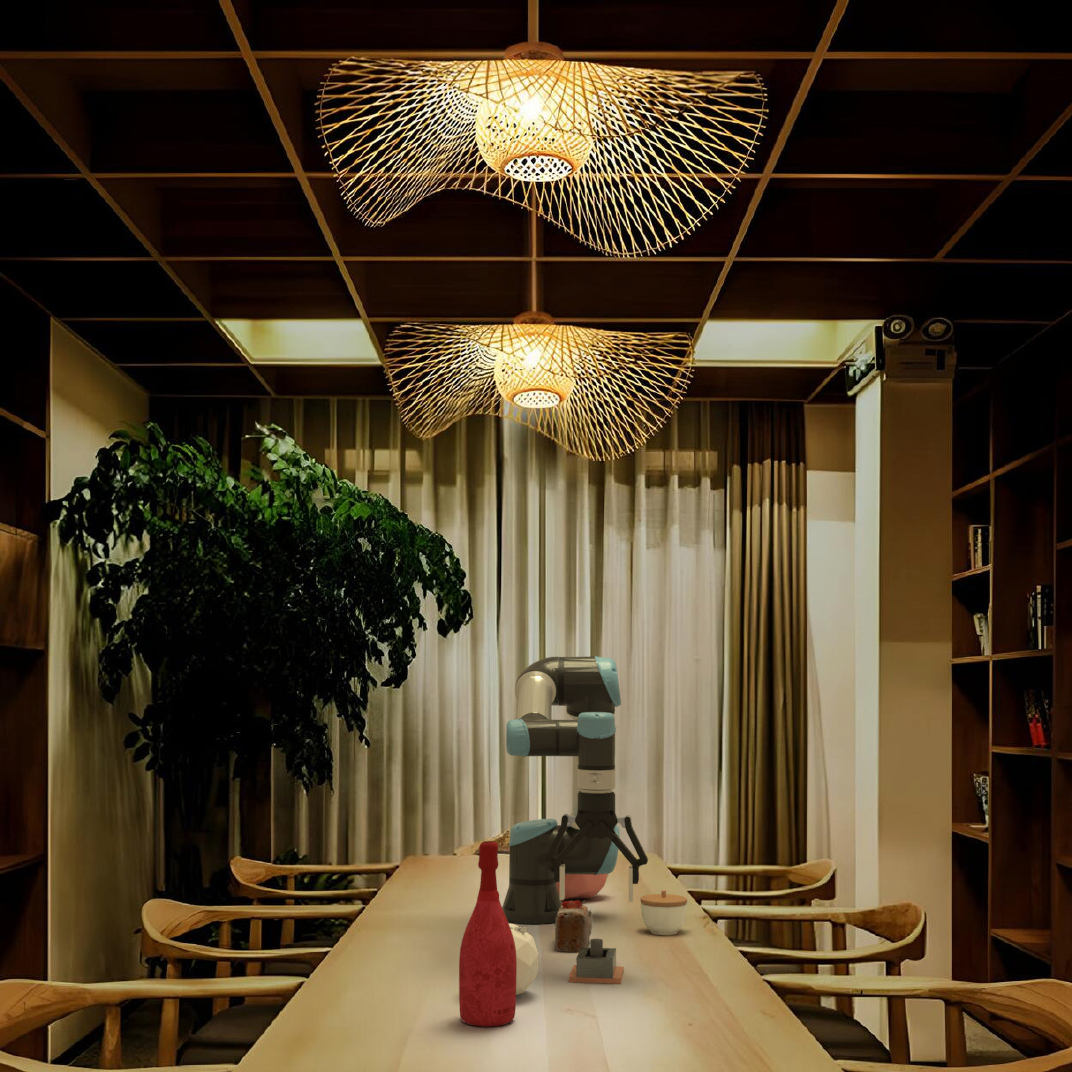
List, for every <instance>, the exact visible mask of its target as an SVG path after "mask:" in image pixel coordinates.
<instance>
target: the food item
mask: <svg viewBox="0 0 1072 1072" xmlns="http://www.w3.org/2000/svg"><path fill="white" fill-rule="evenodd" d="M584 904H585V900H583V901H582V902H581V901H580V900H579V899H577V900H576V899H575V900H562V905H561V907H560V909H559V911H558V913H557V915H556V916H557V917H556V918H555V920H556V921H555V922H554V926H555V930H554V931H555V932H554V938H555V939H554V940H555V946H556V948H557V951H558V952H561V953H579V951H580V949H581V947H588V948H589V941H590V936H591V934H592V929H593V911H592V909H588V906H586V905H584Z"/></svg>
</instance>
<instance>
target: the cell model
mask: <svg viewBox="0 0 1072 1072" xmlns="http://www.w3.org/2000/svg"><path fill="white" fill-rule="evenodd" d="M609 875H610V873H609V874H598V875H590V874H565V898H564V900H563V901H570V900H569V899H571V900H576V899H577V900H578V899H589V898H593V897H594V896H596V895H598V894H599V893H600V892H601V891H602V889H603V888H604V887H605V885H606V883H607V880H608V877H609ZM557 888H558V892H559V895H560V882H557Z"/></svg>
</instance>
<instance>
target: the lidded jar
mask: <svg viewBox="0 0 1072 1072" xmlns="http://www.w3.org/2000/svg"><path fill="white" fill-rule="evenodd" d="M639 900H640V912H641V917H642V921H643V923H644V925H645V926H646V928H647V929H648V930H649V931H650V933H651V934H653V935H657V936H658V935H659V936H673V935H676V934H678V932H679V931H680V929H682V928H683V926H684V924H685V922H686V919H687V913H688V912H687V911H688V910H687V908H688V907H687V905H688V898H687V897H685V896H683V895H680V894H679V895H678V894H670V893H667V890H665V889H664V890H662V889H661V893H654V894H652V893H651V894H646V895H642V896H641V897H640V899H639Z"/></svg>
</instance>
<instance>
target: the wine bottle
mask: <svg viewBox="0 0 1072 1072" xmlns="http://www.w3.org/2000/svg"><path fill="white" fill-rule="evenodd" d="M478 850H479V853H478V854H479V855H478V863H477V867H478V868H479V869H480V882H479V883H480V884H479V889H478V895H477V897H476V903H475V905H474V909H473V910H472V913H471V915H470V918H469V920H468V922H467V924H466V927H465V929H464V930H465V931H464V932H463V936H462V938H461V943H460V949H459V959H458V960H459V962H458V978H459V979H458V995H459V996H458V998H459V999H458V1000H459V1017H460V1019H461V1021H462V1022H464V1023H465V1024H467V1025H471V1026H474V1027H483V1028H486V1027H487V1028H488V1027H489V1028H490V1027H499V1026H504V1025H507V1024H509V1023H511V1022H512V1021H513V1020H514V1018H515V1017H516V1008H517V1007H516V1006H517V1005H516V1003H517V995H516V974H517V962H516V947H515V942H514V938H513V935H512V931H511V929H510V926H509V924H510V922H509V921H507V918H506V916H505V914H504V911H503V909H502V907H503V905H502V904H501V901H500V893H499V891H498V885H497V882H498V881H497V870H498V867H499V858H498V854H499V852H498V851H499V845H498V843H497V841H492V840H485V841H482V842H481V843H480V845H479V847H478Z"/></svg>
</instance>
